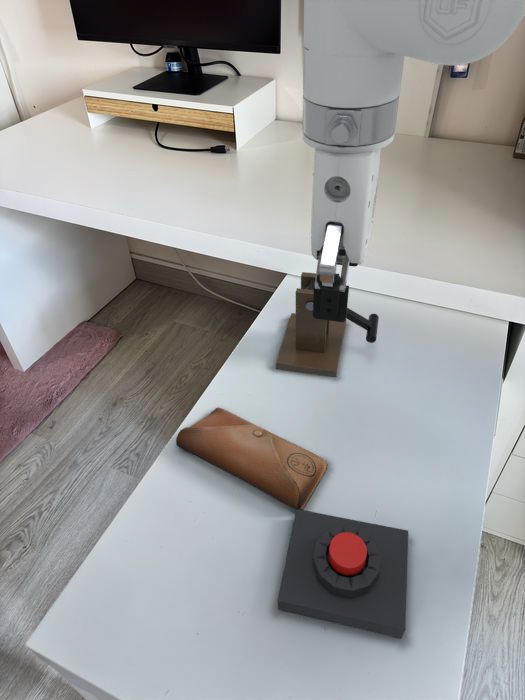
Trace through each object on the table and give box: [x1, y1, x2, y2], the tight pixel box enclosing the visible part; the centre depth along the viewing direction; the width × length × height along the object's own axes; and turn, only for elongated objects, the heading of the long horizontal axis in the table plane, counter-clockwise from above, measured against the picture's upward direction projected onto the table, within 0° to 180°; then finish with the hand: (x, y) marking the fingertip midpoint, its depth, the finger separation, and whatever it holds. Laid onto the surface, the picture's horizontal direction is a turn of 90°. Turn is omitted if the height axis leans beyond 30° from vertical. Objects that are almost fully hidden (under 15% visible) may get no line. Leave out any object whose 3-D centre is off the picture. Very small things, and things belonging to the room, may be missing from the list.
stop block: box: [277, 509, 409, 639], centre depth 51 cm, size 12×10×4 cm
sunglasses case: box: [175, 407, 328, 511], centre depth 62 cm, size 18×7×7 cm
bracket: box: [275, 271, 348, 377], centre depth 74 cm, size 9×12×12 cm
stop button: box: [329, 532, 367, 576], centre depth 49 cm, size 4×4×2 cm
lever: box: [304, 279, 380, 344], centre depth 72 cm, size 12×5×2 cm, turn 77°
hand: (337, 289), depth 53 cm, fingers open, 9 cm apart
